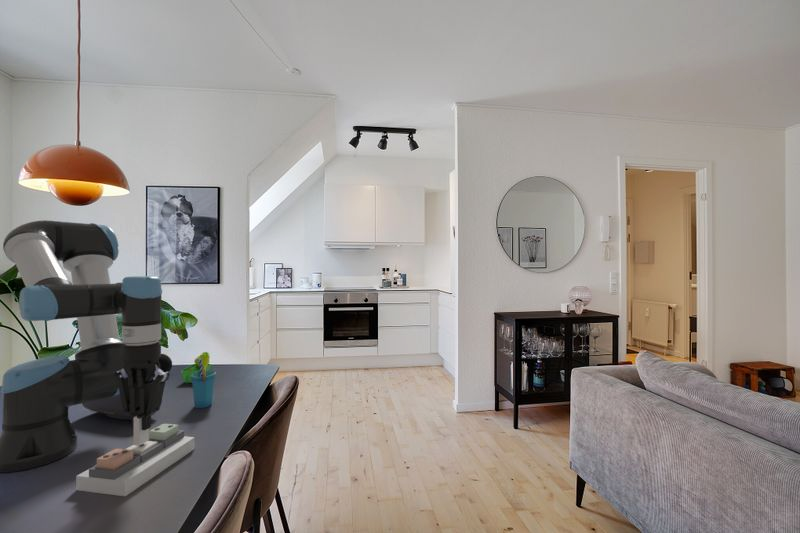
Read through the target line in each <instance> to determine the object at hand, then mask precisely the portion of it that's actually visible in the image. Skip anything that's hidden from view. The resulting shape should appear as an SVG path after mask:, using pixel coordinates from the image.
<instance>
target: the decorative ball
mask: <svg viewBox="0 0 800 533" xmlns="http://www.w3.org/2000/svg"><path fill="white" fill-rule="evenodd" d="M158 362H159V364H160V369H161V370H162V371H163V372H164V373H165V372H169V373H170V372H171V370H172V367H173V361H172V359H171V357H170V356H169V355H167V354H165V353H161V356H160V357H159V359H158Z"/></svg>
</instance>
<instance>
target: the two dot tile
mask: <svg viewBox="0 0 800 533" xmlns="http://www.w3.org/2000/svg"><path fill="white" fill-rule="evenodd" d="M178 430H179V424H174V423H162V424H160V425H157V426H156V427H154V428H152V429H149V439H153V440H164V441H165V440H167V439H168V438H170V437H172V436H173V435H175V434H177V433H178Z"/></svg>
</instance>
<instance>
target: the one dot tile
mask: <svg viewBox="0 0 800 533" xmlns="http://www.w3.org/2000/svg"><path fill="white" fill-rule="evenodd" d="M156 445H158V442H154V441H147V442H145V443H143V444H142V445H140V446H135V445H133V444H132V445H130V446H128V447H127V448H125V449H127V450H133V453H135V454H143V453H144V452H146V451H148V450H150V449H151V448H153V447H155V446H156Z"/></svg>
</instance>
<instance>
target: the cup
mask: <svg viewBox="0 0 800 533" xmlns="http://www.w3.org/2000/svg"><path fill="white" fill-rule="evenodd" d="M196 358H197V357H196ZM196 358H195V359H196ZM196 360H197V361H199V366H200V372H196V373H193V374H192V375H191V379H192V384H191V385H192V392H193V394H192V395H193V404H194V408H196V409H205V408H208V407H211V406H212V404H213V398H214V389H215V388H214V387H215V377H216V374H217V372H216V371H214V370H209V371H206V366H204V369H203V370H202V360H201V358H197V359H196ZM210 405H211V406H210Z"/></svg>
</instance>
